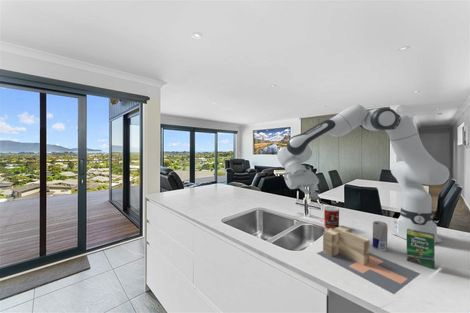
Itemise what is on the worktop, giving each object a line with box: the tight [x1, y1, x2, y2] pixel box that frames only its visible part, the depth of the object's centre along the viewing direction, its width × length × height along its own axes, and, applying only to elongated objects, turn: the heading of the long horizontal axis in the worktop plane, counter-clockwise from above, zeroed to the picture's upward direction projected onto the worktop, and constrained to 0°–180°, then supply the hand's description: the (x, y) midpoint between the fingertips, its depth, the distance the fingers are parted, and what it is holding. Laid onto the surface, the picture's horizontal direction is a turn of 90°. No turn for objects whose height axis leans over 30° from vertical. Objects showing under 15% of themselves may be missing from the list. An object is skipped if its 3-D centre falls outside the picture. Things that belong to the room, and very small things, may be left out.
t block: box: [322, 225, 370, 265], centre depth 83 cm, size 14×14×9 cm
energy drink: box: [372, 220, 389, 252], centre depth 89 cm, size 5×5×12 cm
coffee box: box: [406, 229, 436, 270], centre depth 77 cm, size 8×3×13 cm, turn 39°
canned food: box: [323, 206, 340, 230], centre depth 116 cm, size 8×8×11 cm
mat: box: [316, 250, 421, 295], centre depth 78 cm, size 20×28×1 cm
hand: (310, 193), depth 100 cm, fingers open, 3 cm apart
